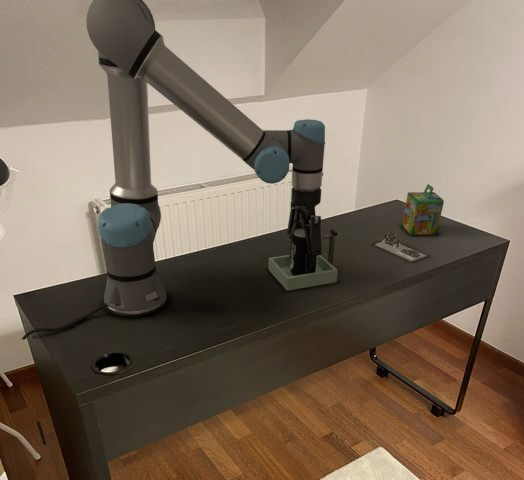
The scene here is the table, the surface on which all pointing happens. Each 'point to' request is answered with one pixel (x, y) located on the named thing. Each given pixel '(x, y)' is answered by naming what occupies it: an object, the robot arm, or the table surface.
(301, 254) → the beverage can
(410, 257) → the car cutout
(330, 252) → the tap
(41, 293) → the table surface
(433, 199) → the chalk box
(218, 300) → the table surface
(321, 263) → the sink
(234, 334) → the table surface
